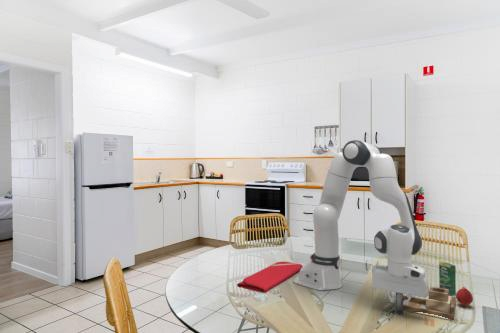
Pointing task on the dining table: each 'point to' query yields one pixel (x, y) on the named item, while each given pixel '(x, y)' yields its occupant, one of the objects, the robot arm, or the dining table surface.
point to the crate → (438, 300)
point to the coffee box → (447, 277)
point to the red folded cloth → (270, 276)
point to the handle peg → (399, 303)
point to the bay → (414, 307)
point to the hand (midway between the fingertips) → (399, 303)
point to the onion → (464, 296)
